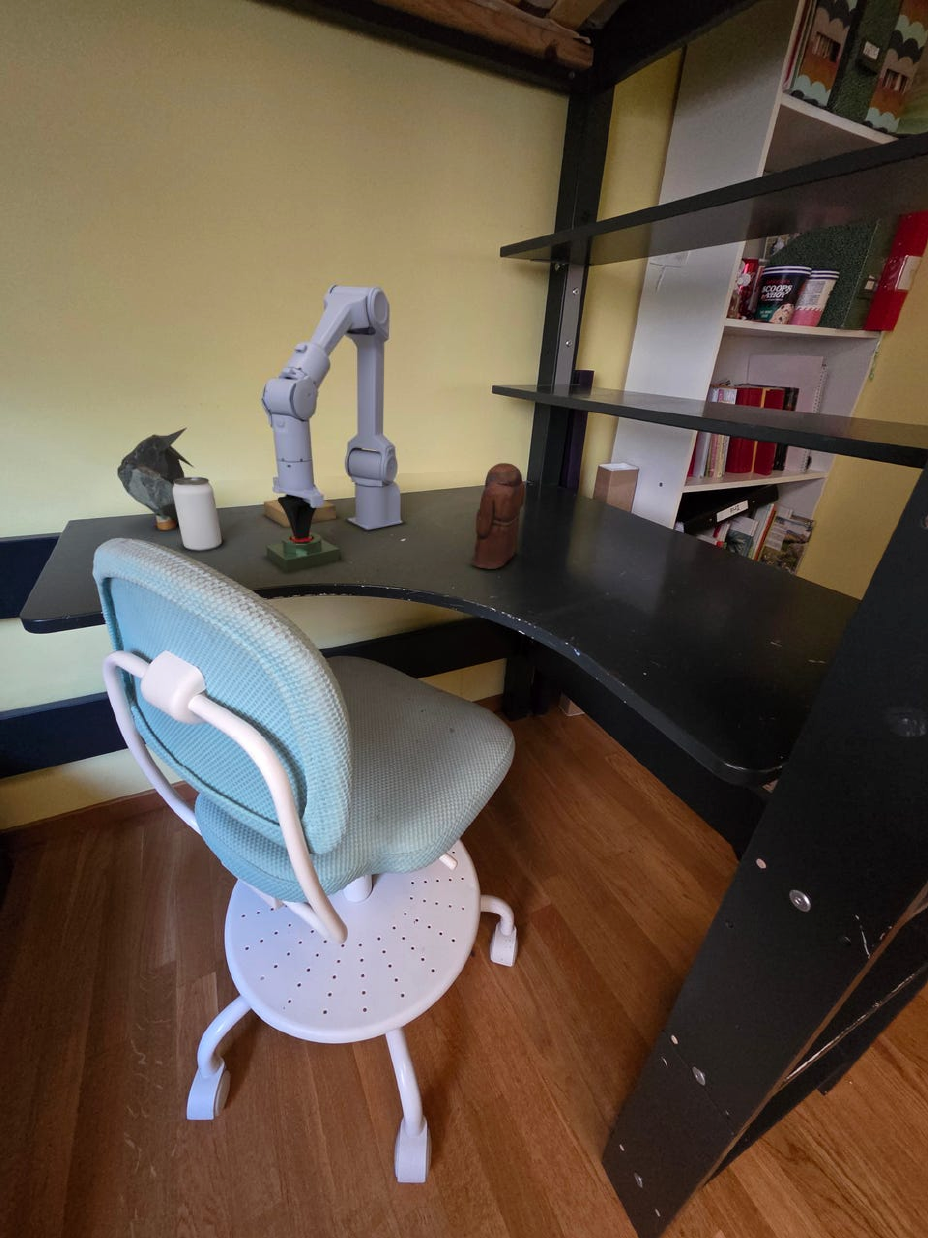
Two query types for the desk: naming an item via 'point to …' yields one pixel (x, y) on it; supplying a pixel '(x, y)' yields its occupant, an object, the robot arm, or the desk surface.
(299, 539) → the bell button
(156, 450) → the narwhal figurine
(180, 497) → the can
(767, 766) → the desk surface
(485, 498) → the wooden figurine
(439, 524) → the desk surface
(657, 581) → the desk surface
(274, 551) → the green button base
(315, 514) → the plate
